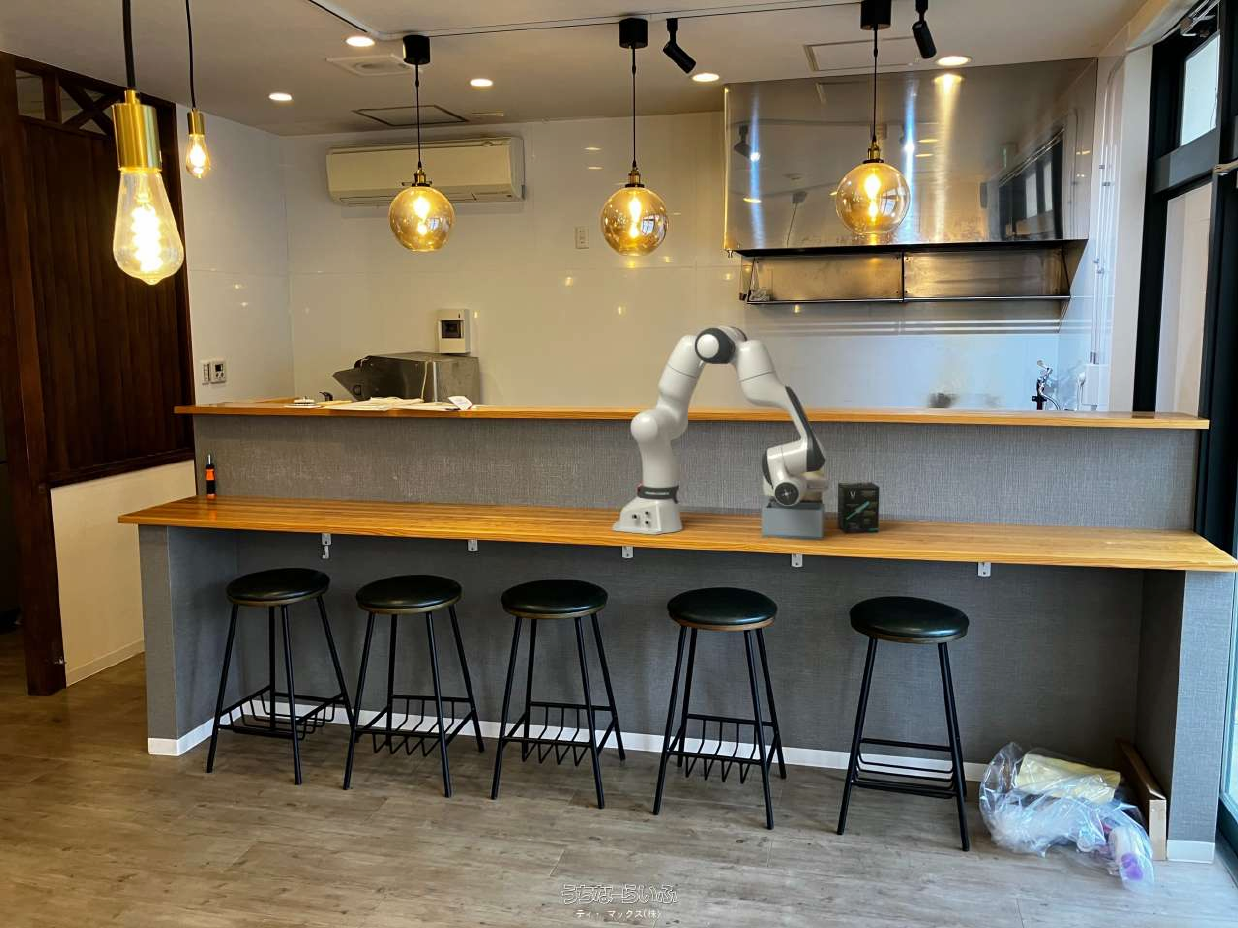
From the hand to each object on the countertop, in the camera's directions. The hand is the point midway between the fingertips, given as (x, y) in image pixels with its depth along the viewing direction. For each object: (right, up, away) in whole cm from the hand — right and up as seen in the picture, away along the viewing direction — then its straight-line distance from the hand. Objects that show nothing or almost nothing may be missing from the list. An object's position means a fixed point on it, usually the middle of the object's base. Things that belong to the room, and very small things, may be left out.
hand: (797, 480), depth 303 cm
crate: (-3, -17, -8) cm, 19 cm away
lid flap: (-1, -7, -3) cm, 7 cm away
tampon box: (+18, -16, -2) cm, 24 cm away
